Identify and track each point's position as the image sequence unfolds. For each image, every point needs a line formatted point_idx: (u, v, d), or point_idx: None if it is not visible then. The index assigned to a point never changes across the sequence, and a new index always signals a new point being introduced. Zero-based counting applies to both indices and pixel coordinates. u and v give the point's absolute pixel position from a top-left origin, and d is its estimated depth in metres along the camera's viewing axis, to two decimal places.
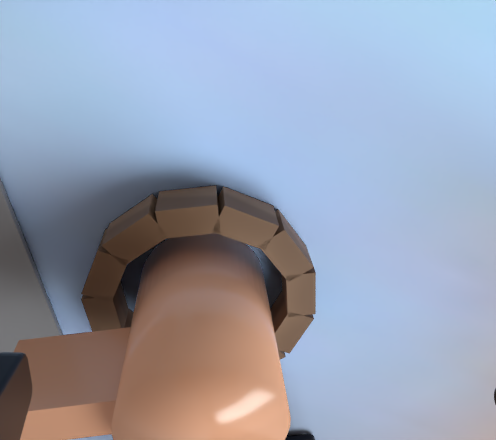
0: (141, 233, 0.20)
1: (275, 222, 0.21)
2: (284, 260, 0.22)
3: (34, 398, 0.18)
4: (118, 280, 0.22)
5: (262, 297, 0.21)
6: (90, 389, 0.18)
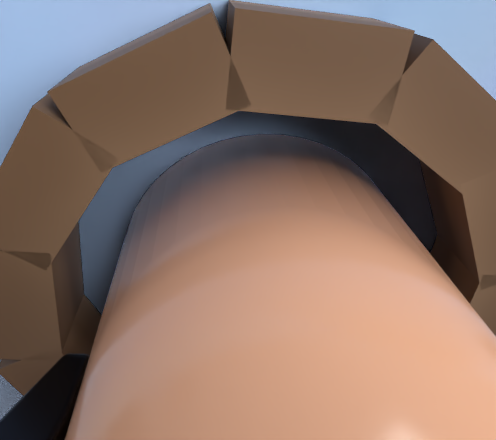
0: None
1: None
2: (165, 105, 0.07)
3: None
4: None
5: (211, 231, 0.06)
6: None
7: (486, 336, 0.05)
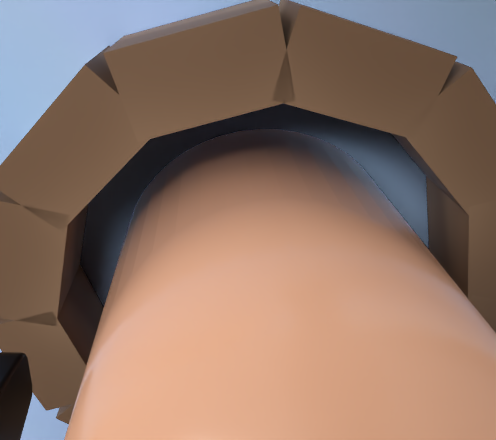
0: None
1: None
2: (54, 358, 0.10)
3: None
4: None
5: (210, 220, 0.07)
6: None
7: (474, 317, 0.05)
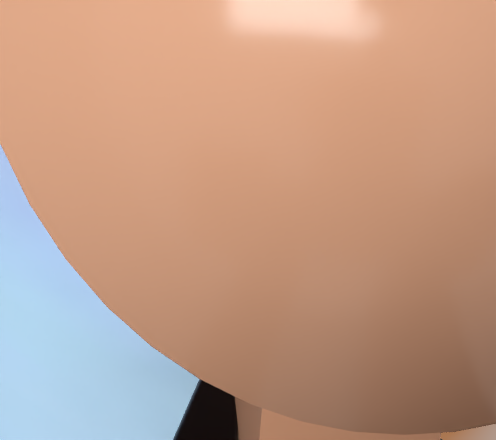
0: None
1: None
2: None
3: None
4: None
5: None
6: (248, 427, 0.05)
7: None
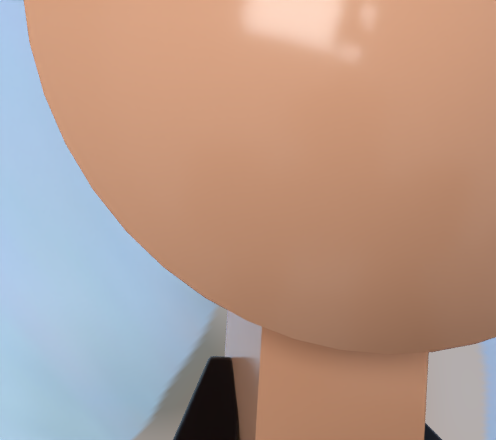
0: None
1: None
2: None
3: None
4: None
5: None
6: (248, 392, 0.06)
7: None
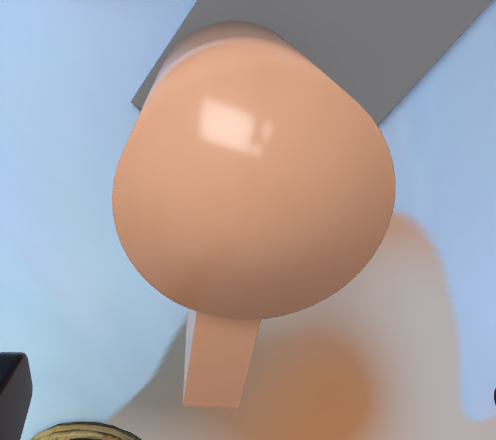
0: None
1: None
2: None
3: (188, 355, 0.15)
4: None
5: (207, 39, 0.14)
6: None
7: None
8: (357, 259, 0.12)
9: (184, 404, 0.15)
